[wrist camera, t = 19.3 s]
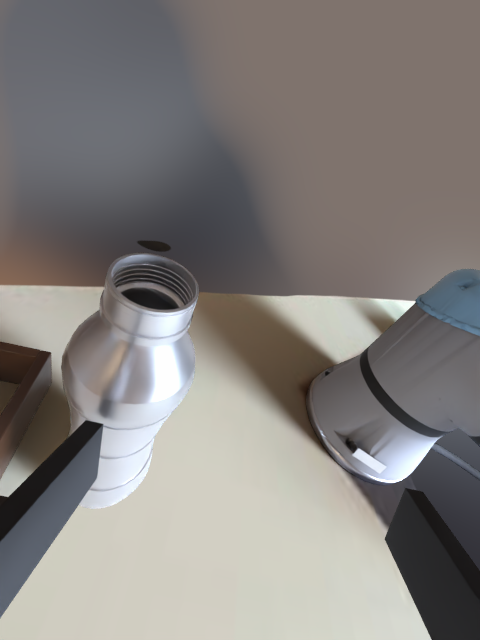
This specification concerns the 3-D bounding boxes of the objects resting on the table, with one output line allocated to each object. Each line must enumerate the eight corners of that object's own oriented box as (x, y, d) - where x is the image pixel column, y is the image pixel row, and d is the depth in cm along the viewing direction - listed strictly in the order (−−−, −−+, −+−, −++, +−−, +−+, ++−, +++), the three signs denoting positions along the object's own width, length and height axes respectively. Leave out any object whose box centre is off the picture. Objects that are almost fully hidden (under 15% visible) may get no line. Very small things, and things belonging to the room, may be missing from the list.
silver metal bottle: (36, 502, 21) (6, 294, 8) (88, 418, 26) (117, 215, 14) (123, 528, 22) (212, 375, 9) (157, 442, 27) (242, 272, 15)
